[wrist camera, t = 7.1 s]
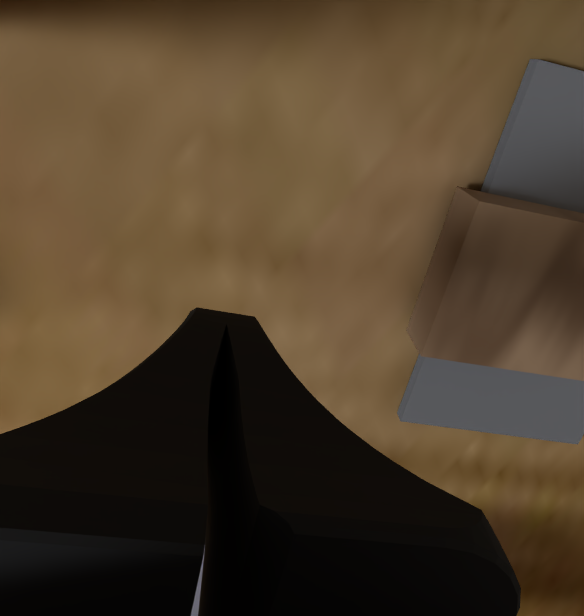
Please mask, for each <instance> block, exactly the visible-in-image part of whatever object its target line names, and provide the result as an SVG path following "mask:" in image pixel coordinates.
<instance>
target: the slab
mask: <svg viewBox="0 0 584 616" xmlns="http://www.w3.org/2000/svg"><path fill="white" fill-rule="evenodd" d="M406 331H407V333H408V334H409V336H410V338H411V340H412V341H413V343H414V345H415V347H416V349H417V350H418V352H419V354H420V356H422V357H429V358H436V359H442V360H449V361H455V362H462V363H468V364H475V365H482V366H488V367H495V368H501V369H508V370H515V371H521V372H528V373H534V374H541V375H548V376H554V377H561V378H567V379H574V380H581V381H584V213H580V212H575V211H570V210H566V209H561V208H556V207H552V206H547V205H542V204H537V203H533V202H528V201H523V200H518V199H514V198H509V197H504V196H500V195H495V194H490V193H485V192H481V191H476V190H471V189H466V188H462V187H457V188H456V191H455V194H454V197H453V200H452V202H451V205H450V208H449V211H448V214H447V217H446V219H445V222H444V225H443V228H442V231H441V234H440V236H439V239H438V242H437V245H436V248H435V251H434V253H433V256H432V259H431V262H430V265H429V267H428V270H427V273H426V276H425V279H424V282H423V284H422V287H421V290H420V293H419V296H418V299H417V301H416V304H415V307H414V310H413V313H412V316H411V318H410V321H409V324H408V327H407V330H406Z"/></svg>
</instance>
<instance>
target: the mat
mask: <svg viewBox="0 0 584 616" xmlns="http://www.w3.org/2000/svg"><path fill="white" fill-rule="evenodd" d="M481 192H485V193H490V194H495V195H500V196H504V197H509V198H514V199H518V200H523V201H528V202H533V203H537V204H542V205H547V206H552V207H556V208H561V209H566V210H570V211H575V212H580V213H584V71H581V70H577V69H573V68H569V67H565V66H562V65H558V64H554V63H550V62H547V61H543V60H539V59H530V61H529V63H528V66H527V69H526V71H525V74H524V77H523V79H522V82H521V85H520V87H519V90H518V93H517V95H516V98H515V101H514V103H513V106H512V109H511V111H510V114H509V117H508V119H507V122H506V124H505V127H504V130H503V132H502V135H501V138H500V140H499V143H498V146H497V148H496V151H495V154H494V156H493V159H492V162H491V164H490V167H489V170H488V172H487V175H486V178H485V180H484V183H483V186H482V188H481ZM397 414H398V416H399V419H400V421H403V422H411V423H418V424H426V425H434V426H441V427H449V428H457V429H464V430H472V431H480V432H487V433H495V434H503V435H510V436H518V437H526V438H533V439H541V440H549V441H556V442H564V443H572V444H578V443H579V442H580V440H581V438H582V436H583V435H584V381H581V380H574V379H567V378H561V377H554V376H548V375H541V374H534V373H528V372H521V371H515V370H508V369H501V368H495V367H488V366H482V365H475V364H468V363H462V362H455V361H449V360H442V359H436V358H429V357H422V356H420V354H419V356H418V359H417V361H416V364H415V367H414V369H413V372H412V375H411V377H410V380H409V383H408V385H407V388H406V391H405V393H404V396H403V399H402V401H401V404H400V407H399V409H398V412H397Z"/></svg>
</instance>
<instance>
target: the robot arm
mask: <svg viewBox="0 0 584 616" xmlns="http://www.w3.org/2000/svg"><path fill="white" fill-rule="evenodd" d="M520 593H521V588H520V585H519V583H518V580H517V578H516V575H515V573H514V571H513V569H512V567H511V565H510V563H509V561H508V559H507V557H506V555H505V553H504V551H503V549H502V547H501V545H500V543H499V541H498V539H497V537H496V535H495V533H494V531H493V529H492V528H491V526H490V524H489V522H488V520H487V519H486V517H485V515H484V514H483V512H482V510H480V509H478V508H476V507H474V506H473V505H471V504H469V503H467V502H465V501H463V500H461V499H459V498H457V497H455V496H453V495H451V494H449V493H447V492H445V491H444V490H442V489H440V488H438V487H436V486H434V485H432V484H430V483H428V482H426V481H425V480H423V479H421V478H419V477H418V476H416V475H414V474H413V473H411V472H410V471H408V470H406V469H405V468H403V467H402V466H400V465H398V464H397V463H395V462H393V461H392V460H390V459H389V458H388V457H386V456H385V455H383V454H382V453H380V452H379V451H377V450H376V449H374V448H373V447H372V446H370V445H369V444H368V443H366V442H365V441H364V440H362V439H361V438H360V437H359V436H357V435H356V434H355V433H353V432H352V431H351V430H349V429H348V428H347V427H346V426H345V425H343V424H342V423H341V422H340V421H339V420H338V419H336V418H335V417H334V416H333V415H332V414H331V413H330V412H329V411H328V410H327V409H326V408H325V407H324V406H323V405H322V404H321V403H319V402H318V401H317V400H316V399H315V397H314V396H313V395H312V394H311V393H310V392H309V391H308V390H307V389H306V388H305V387H304V385H303V384H302V383H301V382H300V381H299V380H298V378H297V377H296V376H295V375H294V374H293V372H292V371H291V370H290V369H289V367H288V366H287V365H286V363H285V362H284V361H283V359H282V358H281V356H280V355H279V354H278V352H277V351H276V349H275V348H274V346H273V345H272V343H271V341H270V340H269V338H268V337H267V335H266V334H265V332H264V330H263V329H262V327H261V325H260V324H259V322H258V321H257V319H256V318H255V317H253V316H247V315H241V314H234V313H228V312H222V311H215V310H209V309H203V308H195V309H194V310H192V311H190V313H189V315H188V316H187V318H186V319H185V321H184V322H183V323H182V324H181V325H180V327H179V328H178V329H177V330H176V331H175V332H174V333H173V334H172V335H171V336H170V337H169V338H168V339H167V340H166V341H165V342H164V343H163V344H162V345H161V346H160V347H159V348H158V349H157V350H156V351H155V352H154V353H153V354H151V355H150V356H149V357H148V358H147V359H145V360H144V361H143V362H142V363H141V364H139V365H138V366H137V367H136V368H134V369H133V370H132V371H130V372H129V373H128V374H126V375H125V376H123V377H122V378H121V379H119V380H118V381H116V382H115V383H113V384H111V385H110V386H108V387H107V388H105V389H104V390H102V391H100V392H99V393H97V394H95V395H93V396H91V397H89V398H87V399H85V400H83V401H81V402H79V403H77V404H75V405H73V406H71V407H69V408H67V409H65V410H63V411H60V412H58V413H56V414H53V415H51V416H48V417H46V418H44V419H41V420H39V421H36V422H33V423H31V424H28V425H25V426H22V427H20V428H17V429H14V430H11V431H8V432H5V433H2V434H0V616H516V615H517V613H518V611H519V608H520Z"/></svg>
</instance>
